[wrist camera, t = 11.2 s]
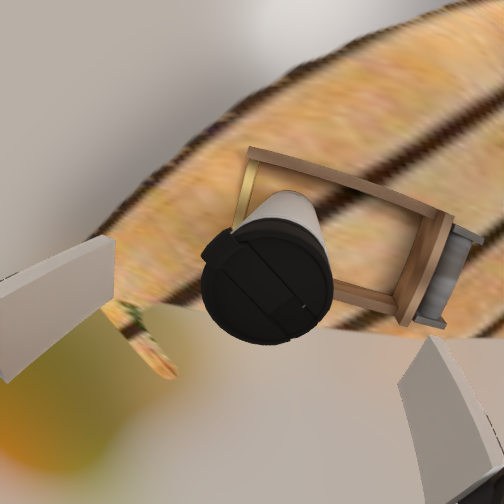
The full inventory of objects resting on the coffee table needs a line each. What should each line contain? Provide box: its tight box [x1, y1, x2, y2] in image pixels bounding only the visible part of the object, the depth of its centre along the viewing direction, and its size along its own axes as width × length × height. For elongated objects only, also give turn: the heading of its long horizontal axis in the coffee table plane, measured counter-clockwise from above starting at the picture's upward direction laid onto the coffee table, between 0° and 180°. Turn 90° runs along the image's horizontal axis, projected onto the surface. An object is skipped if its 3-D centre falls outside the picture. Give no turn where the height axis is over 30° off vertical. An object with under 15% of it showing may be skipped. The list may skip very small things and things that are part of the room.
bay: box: [231, 146, 484, 330], centre depth 28 cm, size 13×27×5 cm, turn 76°
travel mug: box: [201, 190, 334, 345], centre depth 22 cm, size 6×7×20 cm
